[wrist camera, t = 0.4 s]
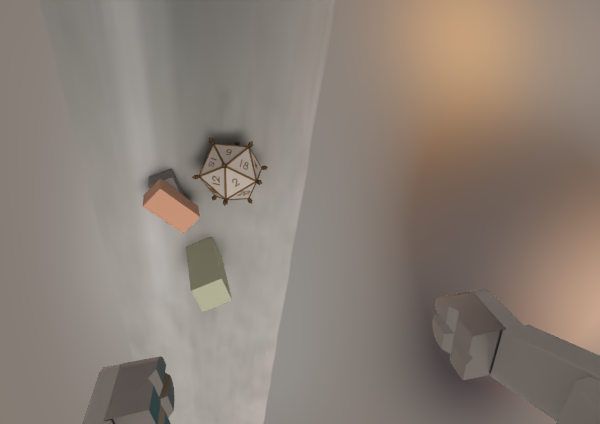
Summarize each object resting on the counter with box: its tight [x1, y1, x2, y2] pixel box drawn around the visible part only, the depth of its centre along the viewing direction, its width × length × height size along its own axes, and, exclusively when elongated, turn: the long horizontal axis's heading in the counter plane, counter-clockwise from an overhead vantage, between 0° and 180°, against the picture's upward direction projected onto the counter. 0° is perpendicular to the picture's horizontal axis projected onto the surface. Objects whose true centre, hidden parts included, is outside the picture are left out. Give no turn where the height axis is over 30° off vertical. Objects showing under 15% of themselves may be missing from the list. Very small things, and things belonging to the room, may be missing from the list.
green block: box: [186, 237, 232, 312], centre depth 51 cm, size 4×4×10 cm
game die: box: [192, 138, 268, 206], centre depth 46 cm, size 9×8×10 cm
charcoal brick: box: [149, 169, 185, 196], centre depth 48 cm, size 6×3×3 cm, turn 14°
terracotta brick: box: [143, 179, 200, 233], centre depth 45 cm, size 6×3×3 cm, turn 41°
